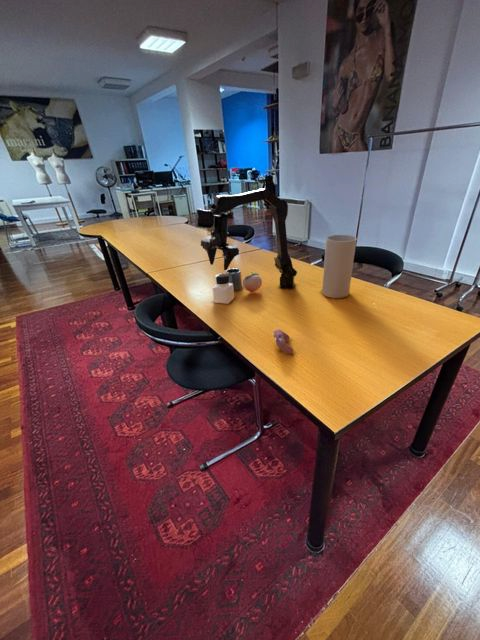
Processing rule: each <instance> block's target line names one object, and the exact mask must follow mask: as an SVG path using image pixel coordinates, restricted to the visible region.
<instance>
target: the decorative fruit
mask: <svg viewBox="0 0 480 640" xmlns="http://www.w3.org/2000/svg"><path fill="white" fill-rule="evenodd" d="M262 283H263V279H262V277H260V274H259V273H257V272H252V273H250V274H247V275H245V276H244V278H243V281H242V287H244V289H245V290H246V291H247V292H249V293H254V292H257V291H258V290H259V289H261V287H262Z"/></svg>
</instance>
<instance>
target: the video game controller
mask: <svg viewBox="0 0 480 640" xmlns="http://www.w3.org/2000/svg"><path fill="white" fill-rule="evenodd" d="M272 336H273V338H274V339H275V340H274V341H275V343H276V347H278V350H281V351H282V352H284V353H286V354H290V355H291V354H293V353H294V348H293V347H292V346H290V345H289V344H288V343H286V342H287V341H289V340H290V338H291V337H290V336H289V334H287V332H284V331H283V330H282V329H276V330H274V331H273V335H272Z"/></svg>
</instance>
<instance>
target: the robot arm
mask: <svg viewBox="0 0 480 640" xmlns="http://www.w3.org/2000/svg"><path fill="white" fill-rule="evenodd" d="M260 201H263V203H264V204H266V205H267V206H268V207H269V211H270V215H271V218H272V219H273V221H274V228H275V239H276V247H277V256H275V257H274V259H273V260H274V267H276V270H278V271H279V273H280V276H279V288H280V289H291V290H292V289H293V288H294V287H295V285H296V283H295V277H296V276H297V274H298V271H297V269H295V268H294V265H293V262H292V259H291V257H290V254H289V249H288V247H289V246H288V237H287V235H288V234H287V224H286V221H287V217H288V215H289V213H288V212H289V204H288V202H287V201H286V200H284V199H281V198H280V197H278V196H277V195H275V194H274V193H272V191H270V190H269V189H268V188H263V187H261V188H259V189H255V190H252V191H251V190H250V191H247V192H242V193H237V194H217V195H216V196H214V198H213V202H212V204H211V205H210V207H208V209H201V208H196V210H195V211H196V212H195V215H194V227H195V228H197V229H209V230H210V229H211V228H212V227H213V230H211V231H210V235H208V236H205V237H204V238H201V239H200V247H202V249H203V250H205V252H206V253H207V257H208V260H209V264H210V265H211V266H213V265H214V262H215V258H216V254H217V250H220V251H221V252H222V254H221V255H222V257H223V270H224V271H226V270H228V269H229V267H230V265H231V263H232V261H233V260H234V259H235V257H237V256H239V255H240V249H239V247H237V246H233V245H229V244H230V243H228V237H229V236H230V232H228V230H229V219H230V220H234V216H233V215H232V214H231V212H230V211H232V210H234V209H235V208H237V207H239V206H243V205H247V204H250V203H255V202H260Z"/></svg>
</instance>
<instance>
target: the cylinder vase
mask: <svg viewBox="0 0 480 640" xmlns="http://www.w3.org/2000/svg"><path fill="white" fill-rule="evenodd" d="M357 239H358V238H357V237H356V236H354V235H350V234H349V235H348V234H333V235H328V236H326V239H325V251H324V260H323V273H322V283H321V284H322V286H321V293H322V295H323V296H324V297H327V298H332V299H343V298H346V297H348V296H349V294H350V291H351V284H352V283H351V282H352V276H353V275H352V274H353V268H354V262H355V261H354V260H355V254H356V248H357V247H356V246H357Z"/></svg>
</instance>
